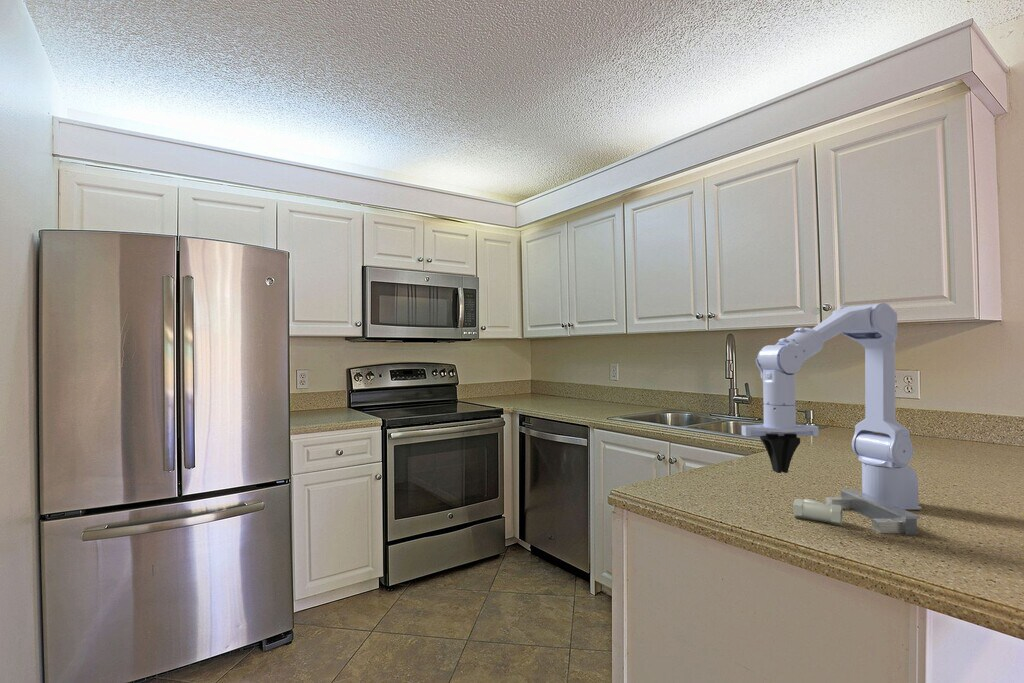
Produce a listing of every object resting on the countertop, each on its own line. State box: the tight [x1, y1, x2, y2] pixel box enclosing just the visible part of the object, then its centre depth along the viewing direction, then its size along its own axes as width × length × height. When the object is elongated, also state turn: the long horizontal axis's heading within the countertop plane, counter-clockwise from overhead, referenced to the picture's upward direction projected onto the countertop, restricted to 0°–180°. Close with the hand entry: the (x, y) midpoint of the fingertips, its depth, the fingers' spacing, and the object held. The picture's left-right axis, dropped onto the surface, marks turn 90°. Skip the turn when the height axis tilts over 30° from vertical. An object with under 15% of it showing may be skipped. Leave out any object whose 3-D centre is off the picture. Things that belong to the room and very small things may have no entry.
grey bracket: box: [825, 488, 921, 536], centre depth 100 cm, size 7×18×4 cm, turn 0°
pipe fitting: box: [792, 498, 844, 527], centre depth 100 cm, size 8×4×7 cm
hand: (780, 471), depth 100 cm, fingers closed
